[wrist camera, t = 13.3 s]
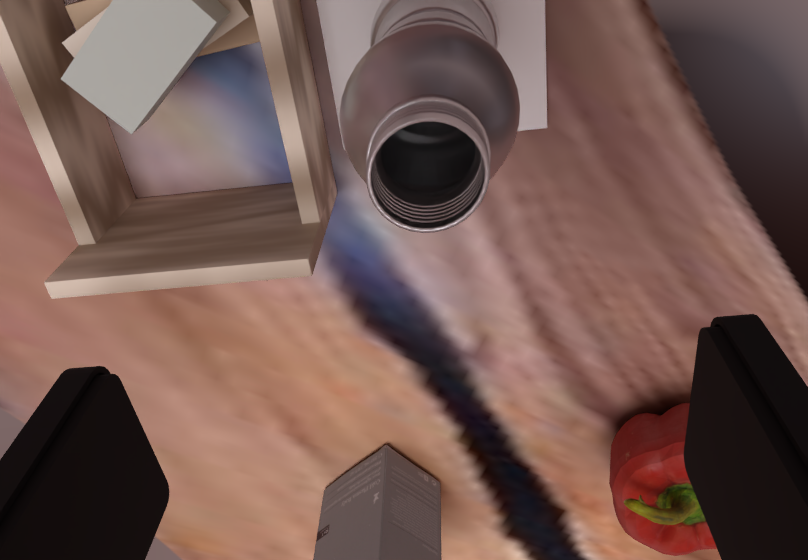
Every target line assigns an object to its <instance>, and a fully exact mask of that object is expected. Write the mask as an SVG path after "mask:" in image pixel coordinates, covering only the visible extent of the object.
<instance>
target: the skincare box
mask: <svg viewBox="0 0 808 560" xmlns="http://www.w3.org/2000/svg"><path fill="white" fill-rule="evenodd" d="M313 560H441V499H440V482H439V481H437V480H436V479H435V478H433V477H432V476H430V475H429V474H427V473H426V472H424V471H423V470H421V469H420V468H418V467H417V466H415V465H414V464H412V463H411V462H409V461H408V460H407V459H405V458H404V457H403V456H401V455H400V454H398V453H397V452H396V451H394V450H393V449H392V448H390V447H389V446H388V445H384V446H383V447H382V448H381V449H380V450H379V451H378V452H376V453H375V454H373V455H372V456H370V457H369V458H367V459H366V460H364V461H363V462H361V463H360V464H358V465H357V466H355V467H354V468H353V469H351V470H350V471H348V472H347V473H346V474H344V475H343V476H341V477H340V478H339V479H337V480H336V481H335V482H334V483H332V484H331V485H330V486H329V487H327V488H326V489H325V490H324V495H323V501H322V507H321V514H320V520H319V527H318V533H317V540H316V545H315V553H314V559H313Z"/></svg>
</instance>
